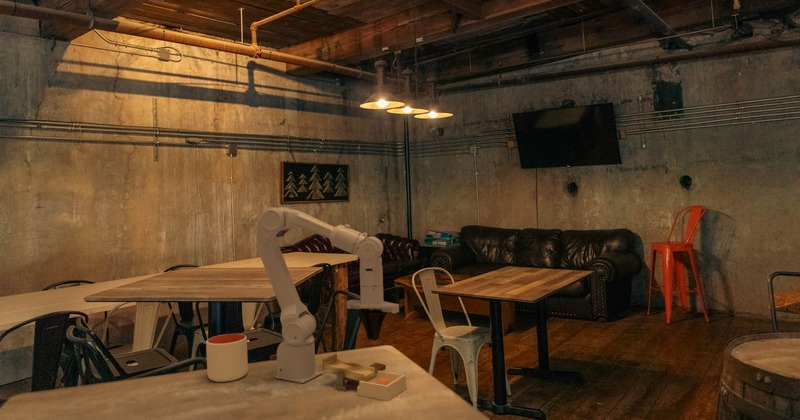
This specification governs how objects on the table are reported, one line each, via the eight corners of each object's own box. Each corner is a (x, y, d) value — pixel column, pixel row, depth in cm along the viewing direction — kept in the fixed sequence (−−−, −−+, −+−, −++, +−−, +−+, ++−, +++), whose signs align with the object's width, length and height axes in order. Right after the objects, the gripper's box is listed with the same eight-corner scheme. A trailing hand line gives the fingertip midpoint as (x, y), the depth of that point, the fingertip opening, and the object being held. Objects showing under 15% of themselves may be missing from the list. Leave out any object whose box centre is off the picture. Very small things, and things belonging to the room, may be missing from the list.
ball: (387, 387, 115) (380, 396, 116) (393, 382, 118) (387, 391, 119) (378, 377, 117) (371, 386, 118) (384, 373, 119) (378, 382, 120)
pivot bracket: (335, 389, 120) (334, 372, 120) (352, 379, 126) (351, 363, 126) (345, 391, 119) (344, 374, 119) (362, 381, 125) (361, 365, 125)
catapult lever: (322, 371, 123) (322, 359, 123) (346, 359, 132) (346, 347, 132) (363, 382, 117) (363, 369, 117) (385, 368, 126) (386, 357, 126)
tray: (357, 395, 116) (357, 381, 116) (376, 383, 124) (376, 370, 123) (388, 400, 112) (387, 386, 112) (406, 388, 119) (405, 374, 119)
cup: (235, 384, 126) (234, 344, 126) (199, 382, 128) (198, 343, 128) (255, 370, 136) (253, 333, 136) (221, 369, 138) (219, 333, 138)
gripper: (338, 286, 128) (340, 339, 128) (387, 289, 120) (389, 346, 120) (355, 281, 134) (357, 332, 134) (402, 284, 126) (404, 339, 126)
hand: (373, 338), depth 128 cm, fingers closed
